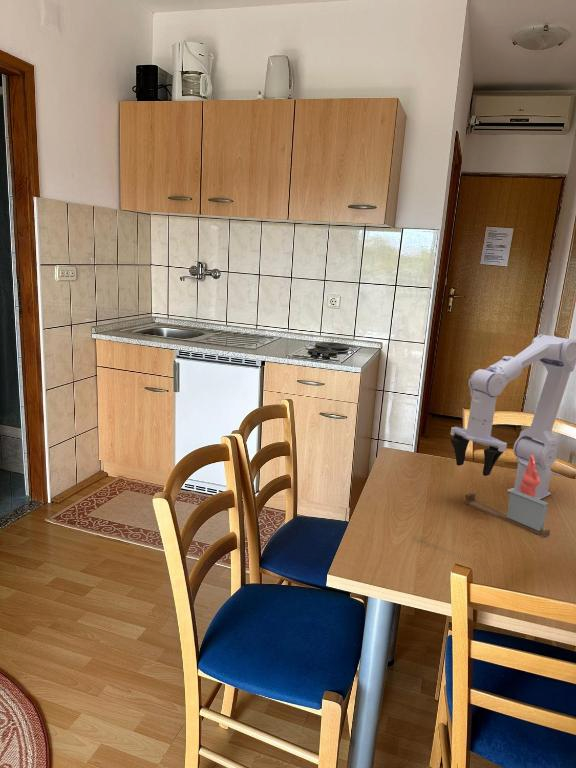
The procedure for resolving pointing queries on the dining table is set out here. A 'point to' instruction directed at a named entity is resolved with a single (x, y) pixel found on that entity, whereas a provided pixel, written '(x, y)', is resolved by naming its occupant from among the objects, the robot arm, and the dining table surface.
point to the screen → (527, 510)
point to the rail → (501, 514)
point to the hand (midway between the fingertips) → (472, 469)
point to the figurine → (530, 479)
